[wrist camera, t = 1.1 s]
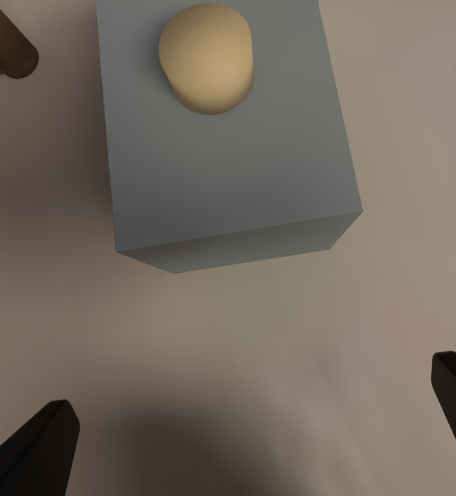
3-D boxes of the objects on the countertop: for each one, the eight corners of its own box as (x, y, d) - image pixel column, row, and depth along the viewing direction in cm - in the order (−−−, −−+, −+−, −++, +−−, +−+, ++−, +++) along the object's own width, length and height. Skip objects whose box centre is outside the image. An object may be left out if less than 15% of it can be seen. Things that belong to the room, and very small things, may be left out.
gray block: (329, 249, 23) (377, 195, 12) (174, 273, 24) (92, 242, 13) (291, 54, 26) (303, -133, 15) (152, 82, 27) (70, -74, 16)
